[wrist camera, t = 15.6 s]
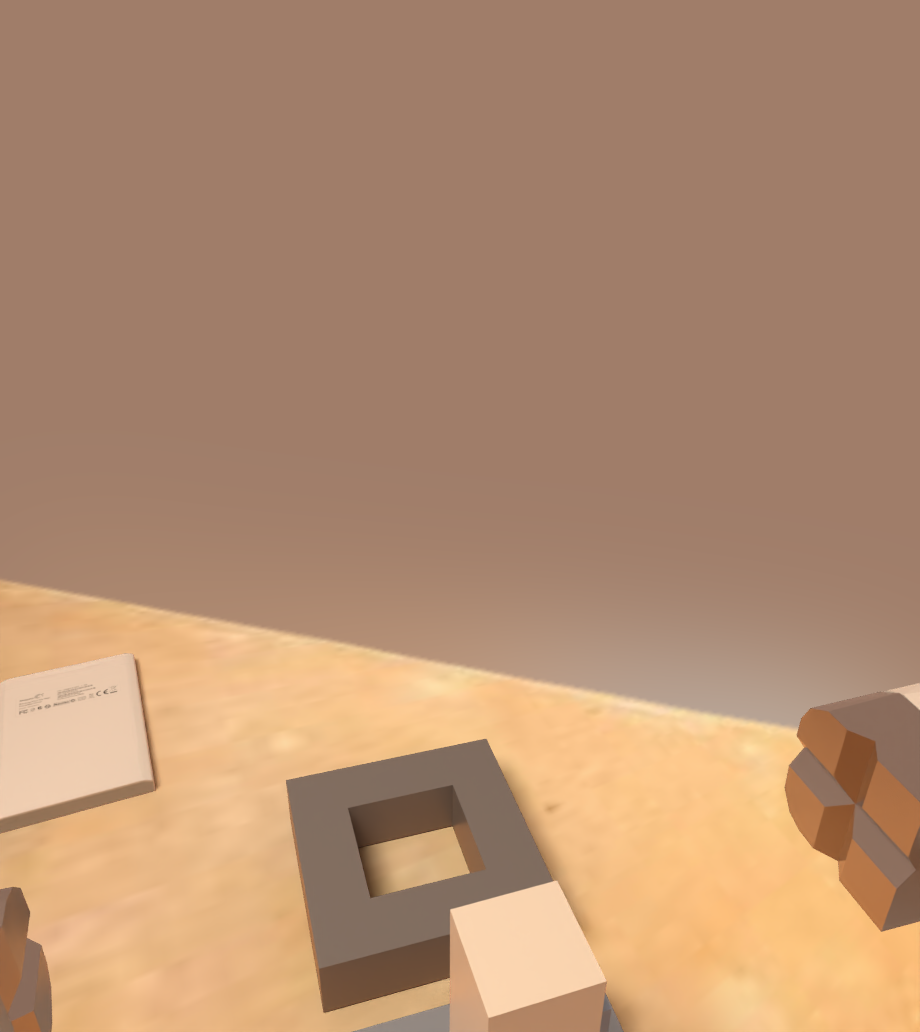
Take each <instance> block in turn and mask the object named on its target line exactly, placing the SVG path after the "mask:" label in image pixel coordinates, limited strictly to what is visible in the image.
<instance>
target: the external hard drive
mask: <svg viewBox="0 0 920 1032" xmlns="http://www.w3.org/2000/svg"><path fill="white" fill-rule="evenodd" d="M155 790H156V789H155V783H154V776H153V770H152V764H151V758H150V752H149V746H148V739H147V733H146V727H145V720H144V714H143V707H142V701H141V695H140V689H139V682H138V676H137V670H136V663H135V659H134V655H133V654H129V653H125V654H121V655H116V656H111V657H107V658H102V659H98V660H93V661H89V662H85V663H80V664H76V665H71V666H66V667H61V668H56V669H52V670H47V671H43V672H38V673H33V674H29V675H24V676H19V677H15V678H11V679H7V680H5V681H3V682H1V683H0V834H1V833H4V832H8V831H11V830H15V829H18V828H22V827H26V826H29V825H33V824H37V823H40V822H44V821H47V820H51V819H55V818H58V817H62V816H66V815H69V814H73V813H76V812H80V811H84V810H87V809H91V808H95V807H98V806H102V805H105V804H109V803H113V802H116V801H120V800H124V799H127V798H131V797H135V796H138V795H142V794H146V793H149V792H153V791H155Z"/></svg>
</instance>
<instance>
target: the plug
mask: <svg viewBox="0 0 920 1032" xmlns="http://www.w3.org/2000/svg"><path fill="white" fill-rule="evenodd" d="M606 983H607V981H606V979H605V977H604V975H603V973H602V970H601V968H600V966H599V964H598V962H597V960H596V958H595V956H594V954H593V952H592V950H591V948H590V946H589V944H588V942H587V940H586V938H585V936H584V934H583V932H582V930H581V928H580V926H579V924H578V922H577V920H576V918H575V916H574V914H573V912H572V910H571V908H570V906H569V904H568V901H567V899H566V897H565V895H564V893H563V891H562V889H561V887H560V885H559V883H558V881H553V882H549V883H546V884H542V885H538V886H535V887H531V888H527V889H524V890H520V891H516V892H513V893H509V894H505V895H502V896H498V897H494V898H491V899H487V900H483V901H480V902H476V903H472V904H469V905H465V906H461V907H458V908H454V909H450V1032H608V1029H609V1023H610V1016H611V1007H610V1005H609V1003H608V1001H607V999H606V996H605V990H606Z"/></svg>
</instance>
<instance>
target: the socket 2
mask: <svg viewBox="0 0 920 1032" xmlns="http://www.w3.org/2000/svg"><path fill="white" fill-rule="evenodd" d="M605 996H606V999H607V1001H608V1003H609V1005H610V1007H611V1016H610V1023H609V1029H608V1032H624V1031H623V1029H622V1027H621V1025H620V1023H619V1021H618V1019H617V1016H616V1014H615V1012H614V1010H613V1008H612V1006H611V1004H610V1002H609V999H608V997H607V995H606V993H605ZM353 1032H450V1004H448V1005H444V1006H441V1007H437V1008H434V1009H430V1010H427V1011H423V1012H420V1013H416V1014H413V1015H409V1016H406V1017H402V1018H399V1019H395V1020H392V1021H388V1022H385V1023H381V1024H378V1025H374V1026H371V1027H367V1028H364V1029H360V1030H357V1031H353Z"/></svg>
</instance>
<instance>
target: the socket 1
mask: <svg viewBox="0 0 920 1032" xmlns="http://www.w3.org/2000/svg"><path fill="white" fill-rule="evenodd" d="M286 784H287V793H288V802H289V810H290V819H291V825H292V831H293V837H294V843H295V849H296V855H297V860H298V866H299V872H300V878H301V884H302V890H303V895H304V901H305V907H306V913H307V919H308V924H309V930H310V936H311V942H312V948H313V954H314V959H315V965H316V971H317V977H318V983H319V989H320V994H321V1000H322V1006H323V1012H327V1011H331V1010H335V1009H338V1008H342V1007H345V1006H349V1005H352V1004H356V1003H360V1002H363V1001H367V1000H370V999H374V998H378V997H381V996H385V995H388V994H392V993H396V992H399V991H403V990H406V989H410V988H413V987H417V986H421V985H424V984H428V983H431V982H435V981H439V980H442V979H446V978H449V977H450V909H454V908H458V907H461V906H465V905H469V904H472V903H476V902H480V901H483V900H487V899H491V898H494V897H498V896H502V895H505V894H509V893H513V892H516V891H520V890H524V889H527V888H531V887H535V886H538V885H542V884H546V883H549V882H553V880H552V878H551V876H550V874H549V871H548V869H547V867H546V865H545V863H544V861H543V859H542V856H541V854H540V852H539V850H538V848H537V846H536V844H535V842H534V839H533V837H532V835H531V833H530V831H529V829H528V827H527V824H526V822H525V820H524V818H523V816H522V814H521V812H520V810H519V807H518V805H517V803H516V801H515V799H514V797H513V795H512V792H511V790H510V788H509V786H508V784H507V782H506V780H505V778H504V775H503V773H502V771H501V769H500V767H499V765H498V763H497V760H496V758H495V756H494V754H493V752H492V750H491V748H490V746H489V743H488V741H487V739H483V740H478V741H473V742H468V743H463V744H458V745H454V746H449V747H444V748H439V749H434V750H430V751H425V752H420V753H415V754H410V755H405V756H401V757H396V758H391V759H386V760H381V761H377V762H372V763H367V764H362V765H357V766H352V767H348V768H343V769H338V770H333V771H328V772H324V773H319V774H314V775H309V776H304V777H299V778H295V779H290V780H286ZM449 826H453V829H454V831H455V834H456V837H457V839H458V842H459V845H460V847H461V850H462V853H463V855H464V858H465V861H466V863H467V866H468V869H469V871H470V874H466V875H461V876H457V877H453V878H449V879H445V880H441V881H437V882H433V883H429V884H425V885H421V886H417V887H413V888H409V889H405V890H401V891H397V892H393V893H389V894H385V895H381V896H377V897H373V898H370V895H369V891H368V887H367V883H366V879H365V875H364V870H363V866H362V862H361V858H360V854H359V850H358V848H359V847H363V846H367V845H372V844H376V843H380V842H385V841H389V840H393V839H398V838H402V837H406V836H410V835H415V834H419V833H423V832H428V831H432V830H436V829H441V828H445V827H449Z"/></svg>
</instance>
